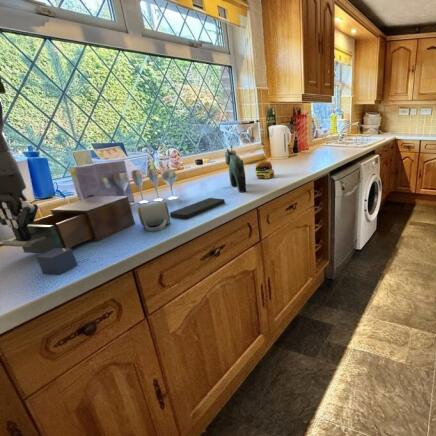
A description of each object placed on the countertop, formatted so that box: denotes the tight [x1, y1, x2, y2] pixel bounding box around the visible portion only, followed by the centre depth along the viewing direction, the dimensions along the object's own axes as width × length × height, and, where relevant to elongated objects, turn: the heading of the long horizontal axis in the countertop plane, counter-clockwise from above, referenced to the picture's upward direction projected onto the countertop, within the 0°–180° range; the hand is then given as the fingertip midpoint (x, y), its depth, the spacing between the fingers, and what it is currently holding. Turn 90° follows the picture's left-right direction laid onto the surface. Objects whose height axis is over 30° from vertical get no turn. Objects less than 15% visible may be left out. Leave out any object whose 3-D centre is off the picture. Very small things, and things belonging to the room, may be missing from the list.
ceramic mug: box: [137, 200, 172, 232], centre depth 97 cm, size 11×8×8 cm
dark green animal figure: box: [224, 144, 247, 193], centre depth 141 cm, size 20×6×20 cm, turn 28°
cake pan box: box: [68, 159, 135, 203], centre depth 118 cm, size 19×5×18 cm, turn 156°
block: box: [35, 248, 78, 276], centre depth 72 cm, size 5×5×5 cm
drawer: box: [1, 212, 94, 255], centre depth 82 cm, size 18×11×8 cm, turn 170°
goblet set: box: [102, 168, 180, 206], centre depth 124 cm, size 28×6×13 cm, turn 119°
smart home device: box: [169, 197, 226, 220], centre depth 114 cm, size 8×2×20 cm
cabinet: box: [50, 196, 136, 243], centre depth 94 cm, size 15×13×10 cm
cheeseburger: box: [255, 160, 275, 180], centre depth 164 cm, size 10×11×10 cm
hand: (24, 240), depth 76 cm, fingers closed
